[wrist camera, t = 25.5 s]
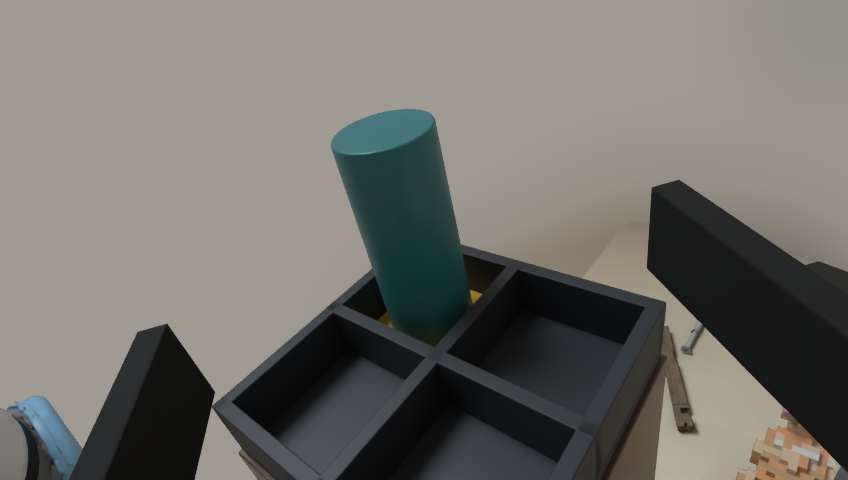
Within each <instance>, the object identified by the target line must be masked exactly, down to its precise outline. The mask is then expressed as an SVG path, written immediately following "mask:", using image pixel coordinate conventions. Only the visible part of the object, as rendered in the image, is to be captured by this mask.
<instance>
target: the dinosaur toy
mask: <svg viewBox="0 0 848 480" xmlns="http://www.w3.org/2000/svg"><path fill="white" fill-rule="evenodd" d="M781 418H783V419H786V420H789V421H788V424H787V427H786V429H785V428H782V427H780V426H778V427H777V430H776V431H775V430H772V429H770V428H768V431H767V434H766V437H765V440H764V441H763V440H760V439H758V438H756V441H755V444H754V447H753V450H752V455H751V459H750V462H751V463H754V464H756V465H757V469H756V471H755V470H753V469H751V468H749V467H748V469H747V471H746V470H744V469H741V468H739V470H738V473H737V476H736V480H833V479H834V472H835V471H834V469H833V468H831V467H828V466H827V461H828V455H829V453H828V452H827V451H826V450H825V449H822V448H820V444H819V443H818V442H817V441H816V440H814V439H813V437H812V436H811V435H810V434H809V433H808V432H807V431H806V430H805V429H804V428H803V427H802V426H801V425H800V424H799V423H798V422H797V421H796V420H795V419H794V418H793V416H792V415H791V414H790V413H789V412H788V411H787V410H786V409H785V408H784V407H783V410H782V413H781Z"/></svg>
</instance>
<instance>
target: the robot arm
mask: <svg viewBox="0 0 848 480" xmlns="http://www.w3.org/2000/svg"><path fill="white" fill-rule="evenodd" d="M647 269H648V270H649V271H650V272H651V273H652V274H653V275H654V276H655V277H656V278H657V279H658V280H659V281H660V282H661V283H662V284H663V285H664V286H665V287H666V288H667V289H668V290H669V291H670V292H671V293H672V294H673V295H674V296H675V297H676V298H677V299H678V300H679V301H680V302H681V303H682V304H683V305H684V306H685V307H686V308H687V309H688V310H689V312H690V313H691V314H692V315H693V316H694V317H695V318H696V319H697V320H698V321H699V322H700V323H701V324H702V325H703V326H704V327H705V328H706V329H707V330H708V331H709V332H710V333H711V334H712V335H713V336H714V337H715V338H716V339H717V340H718V341H719V342H720V343H721V344H722V345H723V346H724V347H725V348H726V349H727V350H728V351H729V352H730V353H731V354H732V355H733V356H734V357H735V358H736V359H737V360H738V361H739V362H740V363H741V365H742V366H743V367H744V368H745V369H746V370H747V371H748V372H749V373H750V374H751V375H752V376H753V377H754V378H755V379H756V380H757V381H758V382H759V383H760V384H761V385H762V386H763V387H764V388H765V389H766V390H767V391H768V392H769V393H770V394H771V395H772V396H773V397H774V398H775V399H776V400H777V401H778V402H779V403H780V404H781V405H782V406H783V407H784V408H785V409H786V410H787V411H788V412H789V413H790V414H791V415H792V416H793V418H794V419H795V420H796V421H797V422H798V423H799V424H800V425H801V426H802V427H803V428H804V429H805V430H806V431H807V432H808V433H809V434H810V435H811V436H812V437H813V438H814V439H815V440H816V441H817V442H818V443H819V444H820V445H821V446H822V447H823V448H824V449H825V450H826V451H827V452H828V453H829V454H830V455H831V456H832V457H833V458H834V459H835V460H836V461H837V462H838V463H839V464H840V465H841V466H842V467H843V468H844V470H845V471H846V472H847V473H848V272H846V271H844V270H841V269H838V268H835V267H833V266H830V265H827V264H824V263H822V262H819V261H818V262H815V263H811V264H808V265H804V264H802V263H801V262H799V261H798V260H796V259H795V258H793V257H792V256H790V255H789V254H788V253H786V252H785V251H783V250H782V249H780V248H779V247H777V246H776V245H774V244H772V243H771V242H770V241H768V240H767V239H765V238H764V237H763V236H761V235H759V234H758V233H757V232H755V231H753V230H752V229H751V228H749V227H748V226H746V225H744V224H743V223H742V222H740V221H739V220H737V219H736V218H734V217H733V216H732V215H730V214H728V213H727V212H726V211H724V210H723V209H721V208H720V207H718V206H717V205H715V204H714V203H712V202H711V201H710V200H708V199H706V198H705V197H704V196H702V195H701V194H699V193H698V192H696V191H695V190H693V189H692V188H690V187H689V186H687V185H686V184H685V183H683V182H682V181H680V180H676V181H673V182H669V183H666V184H662V185H659V186H655V187H652V194H651V209H650V225H649V241H648V257H647ZM214 394H215V391H214V390H213V388H212V387H211V385H210V384H209V383H208V381H207V380H206V378H205V377H204V376H203V374H202V373H201V371H200V370H199V369H198V367H197V366H196V364H195V363H194V361H193V360H192V358H191V357H190V356H189V354H188V353H187V351H186V350H185V349H184V347H183V346H182V344H181V343H180V341H179V340H178V339H177V337H176V336H175V334H174V333H173V332H172V330H171V329H170V327H169V326H168V324H165V325H161V326H157V327H154V328H150V329H147V330H143V331H140V332H137V335H136V337H135V339H134V341H133V343H132V345H131V348H130V350H129V352H128V354H127V356H126V358H125V360H124V362H123V364H122V367H121V369H120V371H119V373H118V375H117V377H116V379H115V382H114V384H113V386H112V388H111V390H110V392H109V395H108V397H107V399H106V401H105V403H104V405H103V407H102V409H101V412H100V414H99V416H98V418H97V420H96V423H95V424H94V427H93V429H92V431H91V433H90V435H89V437H88V439H87V441H86V444H85V446H84V448H83V449H82V448H81V446H80V445H79V444H78V442H77V441H76V439H75V438H74V436H73V435H72V433H71V432H70V431H69V429H68V428H67V427H66V425H65V424H64V422H63V421H62V419H61V418H60V417H59V415H58V414H57V412H56V411H55V410H54V408H53V407H52V406H51V404H50V403H49V402H48V400H47V399H46V398H44V397H42V396H33V397H30V398H28V399H26V400H24V401H22V402H16V403H15V404H13V405H11V406H9V407H8V408H7V410H6V411H5V410H3V409H1V408H0V480H194V479H195V475H196V471H197V466H198V462H199V458H200V454H201V449H202V445H203V441H204V437H205V433H206V428H207V424H208V420H209V415H210V411H211V407H212V403H213V399H214Z"/></svg>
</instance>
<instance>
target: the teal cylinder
mask: <svg viewBox="0 0 848 480" xmlns="http://www.w3.org/2000/svg"><path fill="white" fill-rule="evenodd" d="M331 148H332V151H333V154H334V157H335V160H336V163H337V166H338V169H339V172H340V175H341V178H342V181H343V184H344V187H345V189H346V192H347V195H348V198H349V201H350V204H351V207H352V210H353V212H354V215H355V218H356V222H357V225H358V227H359V230H360V233H361V236H362V239H363V242H364V245H365V247H366V251H367V254H368V257H369V260H370V262H371V265H372V268H373V271H374V274H375V277H376V280H377V283H378V286H379V289H380V292H381V295H382V298H383V300H384V303H385V306H386V309H387V312H388V315H389V318H390V321H391V324H392V327H393V328H394V329H396V330H398V331H400V332H402V333H405V334H407V335H409V336H411V337H413V338H415V339H418V340H420V341H422V342H424V343H426V344H428V345H431V346H433V347H435V346H436V345H437V344H438V343H439V342H440V341H441V340H442V338H443V337H444V336H445V335H446V334H447V333H448V332H449V331H450V330H451V328H452V327H453V326H454V325H455V324H456V323H457V322H458V321H459V319H460V318H461V317H462V316H463V315H464V314H465V313H466V312H467V311H468V309H469V308H470V307H471V306H472V305H473V303H472V298H471V293H470V288H469V283H468V278H467V273H466V269H465V264H464V259H463V254H462V249H461V244H460V239H459V235H458V230H457V225H456V220H455V215H454V210H453V206H452V200H451V196H450V191H449V186H448V181H447V176H446V171H445V166H444V161H443V157H442V152H441V147H440V142H439V137H438V133H437V127H436V122H435V119H434V117H433V116H432V115H431V114H430V113H428V112H426V111H423V110H416V109H401V110H393V111H387V112H382V113H378V114H375V115H371V116H368V117H366V118H363V119H360V120H358V121H356V122H354V123H352V124H350V125H348V126H346V127H345V128H343V129H342V130H340V132H338V133H337V134H336V135H335V136H334V137H333V139H332V142H331Z"/></svg>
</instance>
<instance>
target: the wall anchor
mask: <svg viewBox="0 0 848 480" xmlns="http://www.w3.org/2000/svg"><path fill="white" fill-rule="evenodd" d="M702 326H703V325H702V324H701V323H700V322H699V321H698V323H697V325H696V327H695V328H694V330H692V331H691V333H692V335H691V337H690V339H689V340H688V342H687V344H686V346H682V347H681V351H682V352H684V353H686V354H690V353H691V349H690V347H691V345H692V343H693V341H694V339H695V337H696V336H699V331H700V329H701V328H702Z"/></svg>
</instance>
